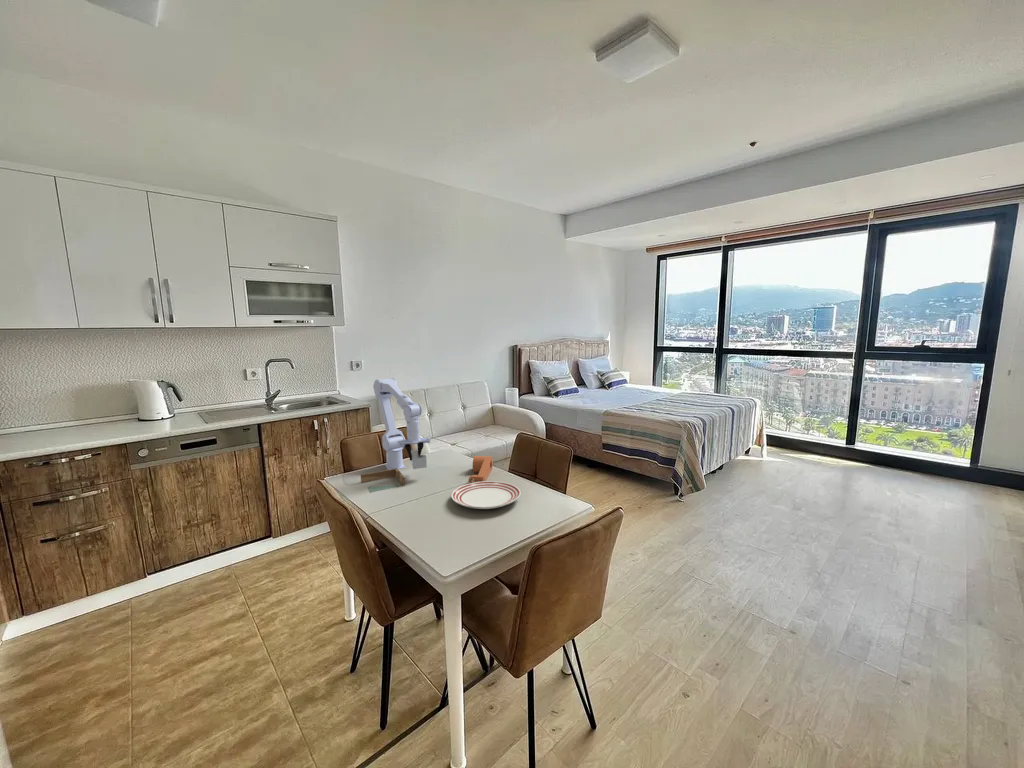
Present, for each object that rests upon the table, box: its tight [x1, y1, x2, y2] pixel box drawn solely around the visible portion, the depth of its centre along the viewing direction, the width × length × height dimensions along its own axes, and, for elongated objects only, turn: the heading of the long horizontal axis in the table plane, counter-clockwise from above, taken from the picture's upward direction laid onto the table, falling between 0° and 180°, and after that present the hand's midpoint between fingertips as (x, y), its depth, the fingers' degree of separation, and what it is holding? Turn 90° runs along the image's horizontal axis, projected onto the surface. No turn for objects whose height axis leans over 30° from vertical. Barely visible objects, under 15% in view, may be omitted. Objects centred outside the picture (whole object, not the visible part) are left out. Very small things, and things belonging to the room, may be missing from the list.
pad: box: [367, 484, 402, 493], centre depth 172 cm, size 8×13×1 cm, turn 120°
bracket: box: [410, 449, 428, 470], centre depth 181 cm, size 10×6×5 cm, turn 19°
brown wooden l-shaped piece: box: [360, 468, 406, 487], centre depth 174 cm, size 14×16×4 cm
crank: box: [468, 455, 494, 484], centre depth 182 cm, size 20×8×8 cm, turn 171°
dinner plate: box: [450, 480, 522, 510], centre depth 157 cm, size 27×27×3 cm
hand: (414, 459), depth 182 cm, fingers closed on bracket, 3 cm apart
